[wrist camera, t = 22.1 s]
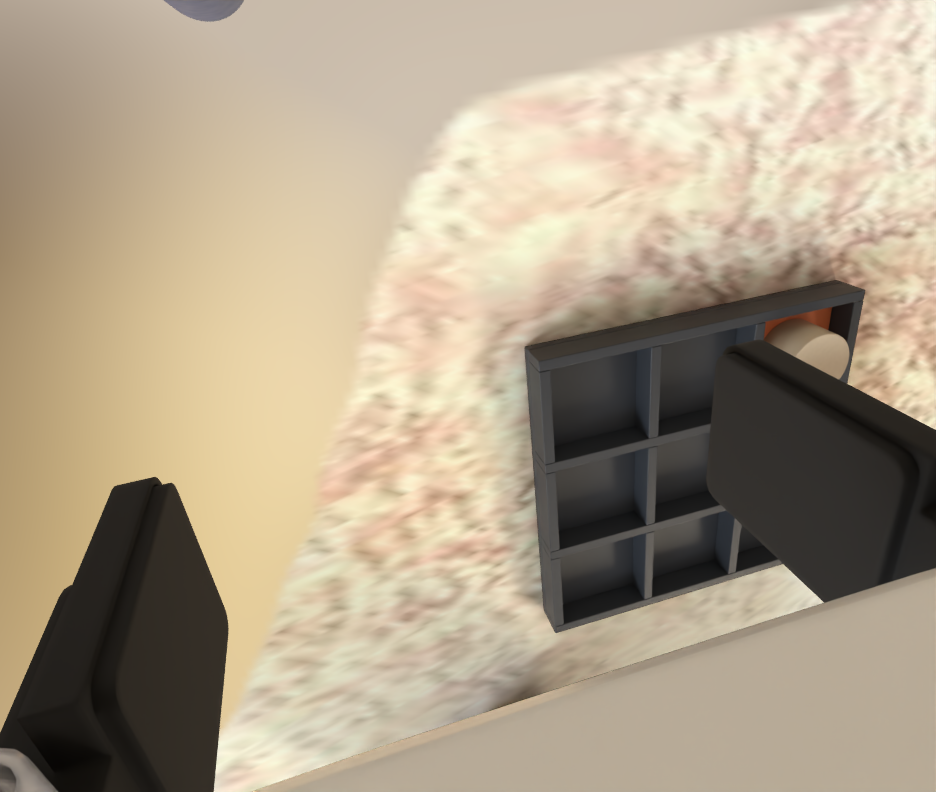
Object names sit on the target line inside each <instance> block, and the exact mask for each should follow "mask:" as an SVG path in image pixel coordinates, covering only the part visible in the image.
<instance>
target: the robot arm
mask: <svg viewBox="0 0 936 792" xmlns="http://www.w3.org/2000/svg"><path fill="white" fill-rule="evenodd" d="M706 482H707V487H708V489H709V492H710V493H711V495H712V496H713V498H714V499H715V500H716V501H717V502H718V503H719V504H720V505H722V506H723V507H724V508H725V509H726V510H727V511H728V512H729V513H730V514H731V515H732V516H733V517H734V518H735V519H736V520H737V521H738V522H740V523H741V524H742V525H743V526H744V527H745V528H746V529H747V530H748V531H749V532H750V533H751V534H752V535H753V536H754V537H755V538H756V539H758V540H759V541H760V542H761V543H762V544H763V545H764V546H765V547H766V548H767V549H768V550H769V551H770V552H771V553H772V554H773V555H774V556H776V557H777V558H778V559H779V560H780V561H781V562H782V563H783V564H784V565H785V566H786V567H787V568H788V569H789V570H790V571H791V572H792V573H794V574H795V575H796V576H797V577H798V578H799V579H800V580H801V581H802V582H803V583H804V584H805V585H806V586H807V587H808V588H809V589H810V590H812V591H813V592H814V593H815V594H816V595H817V596H818V597H819V598H820V599H821V600H822V601H823V602H824V603H822V604H819V605H816V606H813V607H810V608H807V609H803V610H800V611H797V612H794V613H791V614H788V615H784V616H781V617H778V618H775V619H772V620H769V621H765V622H762V623H759V624H756V625H753V626H750V627H747V628H744V629H741V630H737V631H734V632H731V633H728V634H725V635H722V636H719V637H716V638H713V639H709V640H706V641H703V642H700V643H697V644H694V645H691V646H688V647H685V648H681V649H678V650H675V651H672V652H669V653H666V654H663V655H660V656H657V657H654V658H651V659H647V660H644V661H641V662H638V663H635V664H632V665H629V666H626V667H623V668H620V669H617V670H613V671H610V672H607V673H604V674H601V675H598V676H595V677H592V678H589V679H586V680H583V681H580V682H576V683H573V684H570V685H567V686H564V687H561V688H558V689H555V690H552V691H549V692H546V693H543V694H540V695H537V696H534V697H531V698H528V699H525V700H522V701H519V702H515V703H512V704H509V705H506V706H503V707H500V708H497V709H494V710H491V711H488V712H485V713H482V714H479V715H476V716H473V717H470V718H467V719H464V720H461V721H458V722H455V723H452V724H449V725H446V726H443V727H440V728H437V729H434V730H430V731H427V732H424V733H421V734H418V735H415V736H412V737H409V738H406V739H403V740H400V741H397V742H394V743H391V744H388V745H385V746H382V747H379V748H376V749H373V750H370V751H367V752H364V753H361V754H358V755H355V756H352V757H350V758H347V759H344V760H341V761H338V762H335V763H332V764H329V765H326V766H324V767H321V768H318V769H315V770H312V771H309V772H306V773H303V774H301V775H298V776H295V777H292V778H289V779H286V780H283V781H280V782H278V783H275V784H272V785H269V786H266V787H263V788H260V789H257V790H254V791H252V792H936V430H934V429H933V428H931V427H929V426H927V425H925V424H923V423H921V422H919V421H917V420H915V419H913V418H911V417H910V416H908V415H906V414H904V413H902V412H900V411H898V410H896V409H894V408H892V407H890V406H888V405H887V404H885V403H883V402H881V401H879V400H877V399H875V398H873V397H871V396H869V395H867V394H865V393H864V392H862V391H860V390H858V389H856V388H854V387H852V386H850V385H848V384H846V383H844V382H842V381H841V380H839V379H837V378H835V377H833V376H831V375H829V374H827V373H825V372H823V371H821V370H819V369H817V368H816V367H814V366H812V365H810V364H808V363H806V362H804V361H802V360H800V359H798V358H796V357H794V356H793V355H791V354H789V353H787V352H785V351H783V350H781V349H779V348H777V347H775V346H773V345H771V344H770V343H768V342H766V341H763V340H760V339H759V340H753V341H749V342H745V343H740V344H736V345H731V346H728V347H727V348H726V349H725V351H724V352H723V355H722V356H720V357H719V358H718V360H717V362H716V368H715V380H714V392H713V404H712V416H711V428H710V440H709V452H708V463H707V475H706ZM227 642H228V620H227V615H226V611H225V608H224V605H223V603H222V600H221V598H220V595H219V593H218V590H217V588H216V586H215V583H214V580H213V578H212V575H211V573H210V571H209V568H208V566H207V563H206V560H205V558H204V555H203V553H202V551H201V548H200V546H199V543H198V541H197V539H196V536H195V533H194V531H193V528H192V526H191V523H190V521H189V518H188V516H187V513H186V511H185V508H184V506H183V503H182V501H181V498H180V496H179V493H178V491H177V489H176V487H175V486H174V484H172V483H168V484H163V485H162V483H161V482H160V481H159V479H158V478H156V477H152V478H148V479H144V480H139V481H135V482H130V483H126V484H122V485H117V486H115V487H114V488H113V489H112V491H111V493H110V496H109V498H108V501H107V503H106V505H105V508H104V510H103V513H102V515H101V517H100V520H99V522H98V525H97V527H96V529H95V532H94V534H93V537H92V539H91V542H90V544H89V546H88V549H87V551H86V554H85V556H84V558H83V561H82V563H81V566H80V568H79V571H78V573H77V575H76V577H75V580H74V582H73V585H70V586H69V587H67V588H66V589H64V590H63V592H62V593H61V595H60V597H59V599H58V601H57V603H56V605H55V608H54V610H53V613H52V615H51V617H50V619H49V622H48V624H47V626H46V628H45V631H44V633H43V635H42V638H41V640H40V642H39V645H38V647H37V649H36V652H35V654H34V656H33V659H32V661H31V663H30V665H29V668H28V670H27V672H26V675H25V677H24V679H23V682H22V684H21V686H20V689H19V691H18V693H17V695H16V698H15V700H14V703H13V705H12V707H11V709H10V712H9V714H8V716H7V719H6V721H5V723H4V726H3V728H2V730H1V732H0V792H213V791H214V781H215V770H216V759H217V749H218V738H219V727H220V717H221V716H220V715H221V705H222V695H223V685H224V674H225V663H226V653H227Z"/></svg>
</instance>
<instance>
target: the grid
mask: <svg viewBox="0 0 936 792" xmlns="http://www.w3.org/2000/svg"><path fill="white" fill-rule="evenodd" d="M864 294H865V290H864V289H861V288H858V287H855V286H852V285H849V284H846V283H843V282H840V281H837V280H835V281H830V282H825V283H821V284H816V285H811V286H807V287H802V288H797V289H793V290H788V291H783V292H779V293H774V294H769V295H765V296H760V297H755V298H750V299H746V300H741V301H736V302H732V303H727V304H722V305H718V306H713V307H708V308H704V309H699V310H694V311H690V312H685V313H680V314H676V315H671V316H666V317H662V318H657V319H652V320H647V321H643V322H638V323H633V324H629V325H624V326H619V327H615V328H610V329H605V330H601V331H596V332H591V333H587V334H582V335H577V336H573V337H568V338H563V339H559V340H554V341H549V342H544V343H540V344H535V345H530V346H526V347H525V359H526V373H527V386H528V400H529V414H530V428H531V441H532V455H533V469H534V482H535V496H536V510H537V524H538V537H539V551H540V565H541V579H542V592H543V606H544V611H545V613H546V615H547V617H548V619H549V621H550V623H551V625H552V627H553V629H554V631H555V633H558V632H561V631H565V630H568V629H571V628H574V627H578V626H581V625H584V624H588V623H591V622H594V621H597V620H601V619H604V618H607V617H610V616H614V615H617V614H620V613H624V612H627V611H630V610H633V609H637V608H640V607H643V606H646V605H650V604H653V603H656V602H660V601H663V600H666V599H669V598H673V597H676V596H679V595H682V594H686V593H689V592H692V591H696V590H699V589H702V588H705V587H709V586H712V585H715V584H718V583H722V582H725V581H728V580H732V579H735V578H738V577H741V576H745V575H748V574H751V573H754V572H758V571H761V570H764V569H768V568H771V567H774V566H777V565H781V564H783V563H782V562H781V561H780V560H779V559H778V558H777V557H776V556H774V555H773V554H772V553H771V552H770V551H769V550H768V549H767V548H766V547H765V546H764V545H763V544H762V543H761V542H760V541H759V540H758V539H756V538H755V537H754V536H753V535H752V534H751V533H750V532H749V531H748V530H747V529H746V528H745V527H744V526H743V525H742V524H741V523H740V522H738V521H737V520H736V519H735V518H734V517H733V516H732V515H731V514H730V513H729V512H728V511H727V510H726V509H725V508H724V507H723V506H722V505H720V504H719V503H718V502H717V501H716V500H715V499H714V498H713V496H712V495H711V493H710V492H709V489H708V487H707V482H706V475H707V463H708V452H709V440H710V428H711V416H712V404H713V392H714V380H715V368H716V362H717V360H718V358H719V357H720V356H722V355H723V352H724V351H725V349H726V348H727V347H728V346H731V345H736V344H740V343H745V342H749V341H753V340H759V339H760V340H763V341H764V339H765V337H766V336H767V335H768V334H769V332H770V331H771V330H772V329H773V328H775V327H776V326H777V325H779V324H780V323H782V322H784V321H786V320H790V319H803V320H806V321H808V322H811V323H813V324H815V325H817V326H820V327H822V328H824V329H826V330H829V331H831V332H833V333H835V334H838V335H840V336H841V337H843V338H844V339H845V341H846V342H847V344H848V347H849V360H848V364H847V367H846V369H845V371H844V373H843V375H842V376H841V378H840V379H839V380H841V381H842V382H844V383H846V384H847V381H848V376H849V371H850V366H851V361H852V356H853V351H854V346H855V340H856V335H857V330H858V325H859V320H860V315H861V310H862V305H863V299H864Z"/></svg>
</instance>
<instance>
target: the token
mask: <svg viewBox="0 0 936 792" xmlns="http://www.w3.org/2000/svg"><path fill="white" fill-rule="evenodd" d="M764 341H766V342H768V343H770V344H771V345H773V346H775V347H777V348H779V349H781V350H783V351H785V352H787V353H789V354H791V355H793V356H794V357H796V358H798V359H800V360H802V361H804V362H806V363H808V364H810V365H812V366H814V367H816V368H817V369H819V370H821V371H823V372H825V373H827V374H829V375H831V376H833V377H835V378H837V379H840V378H841V376H842V375H843V373H844V371H845V369H846V367H847V364H848V360H849V347H848V344H847V342H846V341H845V339H844V338H843V337H841V336H840V335H838V334H835V333H833V332H831V331H829V330H826V329H824V328H822V327H820V326H817V325H815V324H813V323H811V322H808V321H806V320H803V319H790V320H786V321H784V322H782V323H780V324H779V325H777V326H776V327H775V328H773V329H772V330H771V331H770V332H769V334H768V335H767V336H766V337H765V339H764Z"/></svg>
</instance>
